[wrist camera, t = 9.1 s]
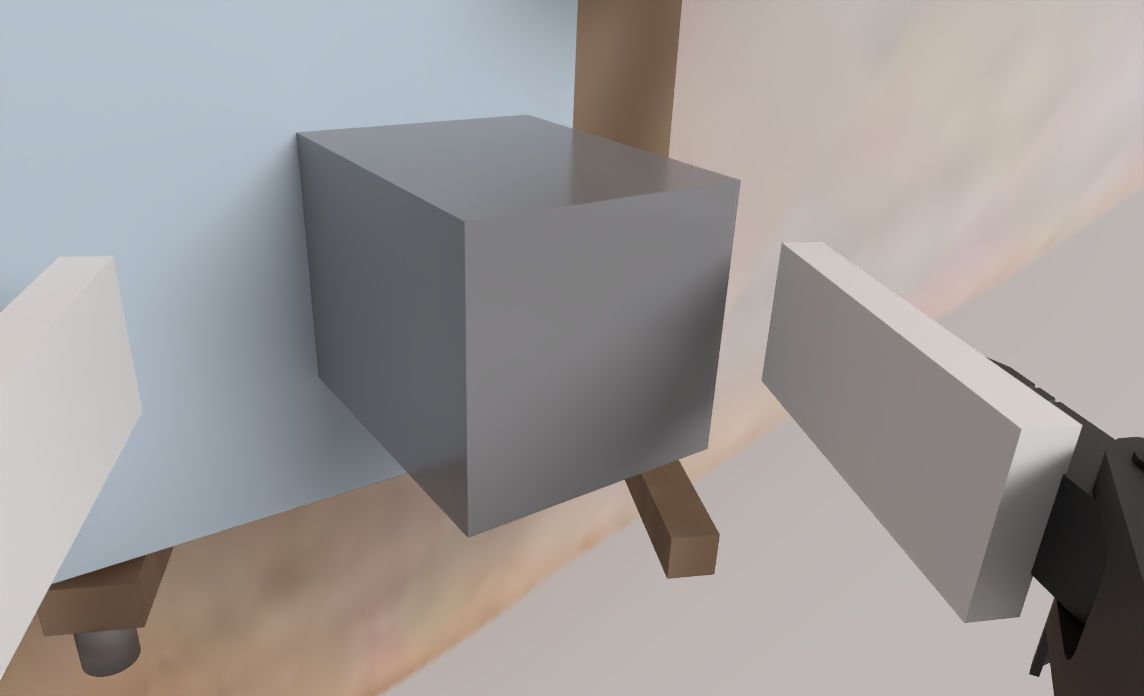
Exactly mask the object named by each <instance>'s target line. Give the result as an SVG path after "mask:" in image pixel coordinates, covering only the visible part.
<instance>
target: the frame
mask: <svg viewBox="0 0 1144 696" xmlns="http://www.w3.org/2000/svg"><path fill="white" fill-rule="evenodd" d="M681 6H682V0H578V10H577V34H576V59H575V84H574V108H573V129H576V130H579V131H583V132H586V133H589V134H592V135H596V136H599V137H602V138H605V139H608V140H612V141H615V142H618V143H621V144H625V145H628V146H631V147H634V148H638V149H641V150H644V151H647V152H651V153H654V154H657V155H660V156H664V157H667V158H668V155H669V144H670V132H671V121H672V109H673V98H674V86H675V75H676V63H677V52H678V40H679V29H680V17H681ZM625 481H626V484H627V486H628V488H629V491H630V493H631V495H632V498H633V500H634V502H635V505H636V507H637V509H638V512H639V514H640V516H641V519H642V521H643V523H644V525H645V528H646V530H647V532H648V535H649V537H650V539H651V542H652V544H653V546H654V549H655V551H656V553H657V556H658V558H659V560H660V563H661V565H662V567H663V570H664V572H665V574H666V577H667V579H669V578H680V577H691V576H701V575H712V574H714V572H715V565H716V557H717V550H718V543H719V535H720V534H719V532H718V531H717V529H716V527H715V525H714V523H713V522H712V520H711V518H710V516H709V514H708V513H707V511H706V509H705V507H704V505H703V503H702V502H701V500H700V498H699V496H698V494H697V493H696V491H695V489H694V487H693V485H692V483H691V482H690V480H689V478H688V476H687V474H686V472H685V471H684V469H683V467H682V465H681V463H680V462H679V460H676V461H673V462H670V463H668V464H665V465H662V466H660V467H657V468H654V469H651V470H649V471H646V472H643V473H641V474H638V475H635V476H633V477H630V478H627V479H625ZM172 549H173V546H172V547H169V548H166V549H163V550H159V551H156V552H153V553H150V554H147V555H143V556H140V557H137V558H134V559H131V560H127V561H124V562H121V563H118V564H114V565H111V566H108V567H105V568H102V569H98V570H95V571H92V572H89V573H86V574H82V575H79V576H76V577H73V578H70V579H66V580H63V581H60V582H57V583H53V584H51V585H50V587H49V589H48V591H47V593H46V595H45V597H44V598H43V600H42V602H41V604H40V606H39V608H38V610H37V611H38V615H39V618H40V622H41V626H42V629H43V633H44V636H53V635H64V634H74V638H75V642H76V646H77V650H78V654H79V658H80V662H81V665H82V669H83V671H84V672H85V673H87V674H88V675H91V676H95V677H104V676H110V675H114V674H117V673H119V672H121V671H123V670H125V669H127V668H128V667H130V666H131V665H132V664H133V663H134V662H135V661H136V660H137V658H138V657H139V655H140V650H141V649H140V644H139V639H138V634H137V630H136V628H139V627H145V624H146V621H147V618H148V616H149V613H150V610H151V607H152V604H153V602H154V599H155V596H156V593H157V591H158V588H159V585H160V582H161V580H162V577H163V574H164V571H165V569H166V566H167V563H168V560H169V558H170V555H171V552H172Z"/></svg>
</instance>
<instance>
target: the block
mask: <svg viewBox="0 0 1144 696" xmlns="http://www.w3.org/2000/svg"><path fill="white" fill-rule="evenodd" d="M296 134H297V145H298V156H299V168H300V179H301V190H302V201H303V212H304V223H305V234H306V245H307V256H308V267H309V278H310V289H311V300H312V311H313V322H314V333H315V344H316V355H317V366H318V377H319V378H320V379H321V380H322V381H323V382H324V383H325V385H326V386H327V387H328V388H329V389H330V390H331V391H332V392H333V393H334V394H335V395H336V396H337V397H338V398H339V400H340V401H341V402H342V403H343V404H344V405H345V406H346V407H347V408H348V409H349V410H350V411H351V412H352V413H353V415H354V416H355V417H356V418H357V419H358V420H359V421H360V422H361V423H362V424H363V425H364V426H365V427H366V429H367V430H368V431H369V432H370V433H371V434H372V435H373V436H374V437H375V438H376V439H377V440H378V441H379V442H380V444H381V445H382V446H383V447H384V448H385V449H386V450H387V451H388V452H389V453H390V454H391V455H392V456H393V457H394V459H395V460H396V461H397V462H398V463H399V464H400V465H401V466H402V467H403V468H404V469H405V470H406V471H407V473H408V474H409V475H410V476H411V477H412V478H413V479H414V480H415V481H416V482H417V483H418V484H419V485H420V486H421V488H422V489H423V490H424V491H425V492H426V493H427V494H428V495H429V496H430V497H431V498H432V499H433V500H434V501H435V503H436V504H437V505H438V506H439V507H440V508H441V509H442V510H443V511H444V512H445V513H446V514H447V515H448V517H449V518H450V519H451V520H452V521H453V522H454V523H455V524H456V525H457V526H458V527H459V528H460V529H461V530H462V532H463V533H464V534H465V535H466V536H467V537H471V536H474V535H476V534H479V533H482V532H484V531H487V530H490V529H493V528H495V527H498V526H501V525H503V524H506V523H509V522H511V521H514V520H517V519H519V518H522V517H525V516H528V515H530V514H533V513H536V512H538V511H541V510H544V509H546V508H549V507H552V506H554V505H557V504H560V503H563V502H565V501H568V500H571V499H573V498H576V497H579V496H581V495H584V494H587V493H590V492H592V491H595V490H598V489H600V488H603V487H606V486H608V485H611V484H614V483H616V482H619V481H622V480H625V479H627V478H630V477H633V476H635V475H638V474H641V473H643V472H646V471H649V470H651V469H654V468H657V467H660V466H662V465H665V464H668V463H670V462H673V461H676V460H678V459H681V458H684V457H687V456H689V455H692V454H695V453H697V452H700V451H703V450H705V449H707V448H708V440H709V432H710V424H711V416H712V408H713V400H714V392H715V384H716V375H717V367H718V359H719V351H720V343H721V335H722V327H723V319H724V311H725V302H726V294H727V286H728V278H729V270H730V262H731V254H732V246H733V238H734V229H735V221H736V213H737V205H738V197H739V189H740V181H741V180H738V179H735V178H731V177H728V176H725V175H722V174H719V173H715V172H712V171H709V170H706V169H702V168H699V167H696V166H693V165H689V164H686V163H683V162H680V161H676V160H673V159H670V158H667V157H664V156H660V155H657V154H654V153H651V152H647V151H644V150H641V149H638V148H634V147H631V146H628V145H625V144H621V143H618V142H615V141H612V140H608V139H605V138H602V137H599V136H596V135H592V134H589V133H586V132H583V131H579V130H576V129H573V128H570V127H566V126H563V125H560V124H557V123H553V122H550V121H547V120H544V119H541V118H537V117H534V116H531V115H515V116H502V117H489V118H476V119H463V120H451V121H438V122H425V123H412V124H399V125H386V126H373V127H360V128H347V129H334V130H321V131H308V132H296Z"/></svg>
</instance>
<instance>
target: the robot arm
mask: <svg viewBox="0 0 1144 696" xmlns="http://www.w3.org/2000/svg"><path fill="white" fill-rule="evenodd" d="M762 382H763V383H764V384H765V385H766V386H767V388H768V389H769V390H770V391H771V392H772V394H773V395H774V396H775V397H776V398H777V400H778V401H779V402H780V403H781V404H782V406H783V407H784V408H785V409H786V410H787V412H788V413H789V414H790V415H791V416H792V418H793V419H794V420H795V421H796V422H797V423H798V425H799V426H800V427H801V428H802V429H803V431H804V432H805V433H806V434H807V435H808V437H809V438H810V439H811V440H812V441H813V443H814V444H815V445H816V446H817V447H818V448H819V450H820V451H821V452H822V453H823V455H824V456H825V457H826V458H827V459H828V460H829V462H830V463H831V464H832V465H833V466H834V468H835V469H836V470H837V471H838V472H839V473H840V475H841V476H842V477H843V478H844V480H845V481H846V482H847V483H848V484H849V486H850V487H851V488H852V489H853V490H854V492H855V493H856V494H857V495H858V496H859V497H860V499H861V500H862V501H863V502H864V504H865V505H866V506H867V507H868V508H869V509H870V511H871V512H872V513H873V514H874V515H875V517H876V518H877V519H878V520H879V521H880V523H881V524H882V525H883V526H884V527H885V528H886V530H887V531H888V532H889V533H890V535H891V536H892V537H893V538H894V539H895V541H896V542H897V543H898V544H899V545H900V547H901V548H902V549H903V550H904V551H905V552H906V554H907V555H908V556H909V557H910V558H911V560H912V561H913V562H914V563H915V564H916V565H917V567H918V568H919V569H920V570H921V572H923V574H924V575H925V576H926V578H927V579H928V580H929V581H930V582H931V583H932V585H933V586H934V587H935V588H936V590H937V591H938V592H939V593H940V594H941V595H942V597H943V598H944V599H945V600H946V601H947V603H948V604H949V605H950V606H951V607H952V609H953V610H954V611H955V612H956V613H957V615H958V616H959V617H960V618H961V619H962V621H963V622H964V623H968V622H977V621H987V620H995V619H1005V618H1014V617H1020V614H1021V611H1022V608H1023V605H1024V602H1025V599H1026V595H1027V592H1028V589H1029V586H1030V583H1031V580H1032V577H1033V576H1034V577H1035V578H1036V579H1037V580H1038V581H1039V582H1040V583H1041V584H1042V585H1043V586H1044V587H1045V588H1046V589H1047V590H1048V591H1049V592H1050V593H1051V594H1052V595H1053V596H1054V597H1055V598H1054V600H1053V603H1052V606H1051V609H1050V612H1049V615H1048V618H1047V621H1046V624H1045V627H1044V629H1043V632H1042V635H1041V638H1040V641H1039V644H1038V647H1037V650H1036V653H1035V656H1034V658H1033V661H1032V665H1031V669H1030V673H1029V674H1031V675H1034V676H1037V677H1039V676H1040V673H1041V670H1042V667H1043V665H1046V664H1048V663H1050V665H1051V673H1052V682H1053V690H1054V696H1144V438H1141V437H1130V438H1118V439H1117V440H1114V439H1113V438H1112V437H1110V436H1109V435H1107V434H1106V433H1105V432H1103V431H1102V430H1100V429H1098V428H1097V427H1096V426H1094V425H1093V424H1092V423H1090V422H1088V421H1087V420H1086V419H1084V418H1083V417H1081V416H1080V415H1079V414H1077V413H1076V412H1074V411H1073V410H1071V409H1070V408H1068V407H1067V406H1066V405H1064V404H1063V403H1061V402H1055V398H1054V397H1053V396H1051V395H1050V394H1048V393H1047V392H1045V391H1044V390H1042V389H1041V388H1035V384H1034V383H1032V382H1031V381H1029V380H1028V379H1026V378H1025V377H1023V376H1022V375H1020V374H1019V373H1018V372H1016V371H1015V370H1013V369H1012V368H1010V367H1008V366H1006V365H1004V364H1001V363H999V362H996V361H994V360H992V359H990V358H987V357H985V356H983V355H982V354H980V353H979V352H978V351H976V350H975V349H973V348H972V347H971V346H969V345H968V344H966V343H965V342H963V341H962V340H961V339H959V338H958V337H956V336H955V335H953V334H952V333H951V332H949V331H948V330H946V329H945V328H944V327H942V326H941V325H939V324H938V323H936V322H935V321H934V320H932V319H931V318H929V317H928V316H926V315H925V314H924V313H922V312H921V311H919V310H918V309H917V308H915V307H914V306H912V305H911V304H909V303H908V302H907V301H905V300H904V299H902V298H901V297H899V296H898V295H897V294H895V293H894V292H892V291H891V290H890V289H888V288H887V287H885V286H884V285H882V284H881V283H880V282H878V281H877V280H875V279H874V278H872V277H871V276H870V275H868V274H867V273H865V272H864V271H862V270H861V269H860V268H858V267H857V266H855V265H854V264H853V263H851V262H850V261H848V260H847V259H845V258H844V257H843V256H841V255H840V254H838V253H837V252H835V251H834V250H833V249H831V248H830V247H828V246H827V245H826V244H824V243H823V242H796V243H782V247H781V253H780V260H779V267H778V274H777V280H776V287H775V294H774V301H773V307H772V314H771V321H770V328H769V334H768V341H767V348H766V355H765V362H764V368H763V375H762ZM142 412H143V411H142V406H141V401H140V395H139V390H138V385H137V380H136V374H135V369H134V364H133V358H132V353H131V348H130V342H129V337H128V332H127V327H126V321H125V316H124V311H123V305H122V300H121V295H120V289H119V284H118V279H117V274H116V268H115V263H114V258H113V256H71V257H58V258H57V259H56V260H55V261H54V262H53V263H52V264H51V265H50V266H49V267H48V268H47V269H46V270H45V271H44V272H43V273H42V274H41V275H39V276H38V277H37V278H36V279H35V280H34V281H33V282H32V283H31V284H30V285H29V286H28V287H27V288H26V289H25V290H24V291H23V292H22V293H20V294H19V295H18V296H17V297H16V298H15V299H14V300H13V301H12V302H11V303H10V304H9V305H8V306H7V307H6V308H5V309H4V310H3V311H2V312H0V680H1V678H2V676H3V674H4V672H5V670H6V668H7V666H8V664H9V663H10V661H11V659H12V657H13V655H14V653H15V651H16V649H17V647H18V646H19V644H20V642H21V640H22V638H23V636H24V634H25V632H26V631H27V629H28V627H29V625H30V623H31V621H32V619H33V617H34V615H35V614H36V612H37V610H38V608H39V606H40V604H41V602H42V600H43V598H44V597H45V595H46V593H47V591H48V589H49V587H50V585H51V583H52V582H53V580H54V578H55V576H56V574H57V572H58V570H59V568H60V566H61V565H62V563H63V561H64V559H65V557H66V555H67V553H68V551H69V549H70V548H71V546H72V544H73V542H74V540H75V538H76V536H77V534H78V533H79V531H80V529H81V527H82V525H83V523H84V521H85V519H86V517H87V516H88V514H89V512H90V510H91V508H92V506H93V504H94V502H95V500H96V499H97V497H98V495H99V493H100V491H101V489H102V487H103V485H104V484H105V482H106V480H107V478H108V476H109V474H110V472H111V470H112V468H113V467H114V465H115V463H116V461H117V459H118V457H119V455H120V453H121V451H122V450H123V448H124V446H125V444H126V442H127V440H128V438H129V436H130V435H131V433H132V431H133V429H134V427H135V425H136V423H137V421H138V419H139V418H140V416H141V414H142Z"/></svg>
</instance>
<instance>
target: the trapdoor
mask: <svg viewBox="0 0 1144 696" xmlns="http://www.w3.org/2000/svg"><path fill="white" fill-rule="evenodd" d="M577 10H578V0H0V312H2V311H3V310H4V309H5V308H6V307H7V306H8V305H9V304H10V303H11V302H12V301H13V300H14V299H15V298H16V297H17V296H18V295H19V294H20V293H22V292H23V291H24V290H25V289H26V288H27V287H28V286H29V285H30V284H31V283H32V282H33V281H34V280H35V279H36V278H37V277H38V276H39V275H41V274H42V273H43V272H44V271H45V270H46V269H47V268H48V267H49V266H50V265H51V264H52V263H53V262H54V261H55V260H56V259H57V258H58V257H71V256H113V258H114V263H115V268H116V274H117V279H118V284H119V289H120V295H121V300H122V305H123V311H124V316H125V321H126V327H127V332H128V337H129V342H130V348H131V353H132V358H133V364H134V369H135V374H136V380H137V385H138V390H139V395H140V401H141V406H142V411H143V412H142V414H141V416H140V418H139V419H138V421H137V423H136V425H135V427H134V429H133V431H132V433H131V435H130V436H129V438H128V440H127V442H126V444H125V446H124V448H123V450H122V451H121V453H120V455H119V457H118V459H117V461H116V463H115V465H114V467H113V468H112V470H111V472H110V474H109V476H108V478H107V480H106V482H105V484H104V485H103V487H102V489H101V491H100V493H99V495H98V497H97V499H96V500H95V502H94V504H93V506H92V508H91V510H90V512H89V514H88V516H87V517H86V519H85V521H84V523H83V525H82V527H81V529H80V531H79V533H78V534H77V536H76V538H75V540H74V542H73V544H72V546H71V548H70V549H69V551H68V553H67V555H66V557H65V559H64V561H63V563H62V565H61V566H60V568H59V570H58V572H57V574H56V576H55V578H54V580H53V582H52V583H51V584H53V583H57V582H60V581H63V580H66V579H70V578H73V577H76V576H79V575H82V574H86V573H89V572H92V571H95V570H98V569H102V568H105V567H108V566H111V565H114V564H118V563H121V562H124V561H127V560H131V559H134V558H137V557H140V556H143V555H147V554H150V553H153V552H156V551H159V550H163V549H166V548H169V547H172V546H175V545H179V544H182V543H185V542H188V541H192V540H195V539H198V538H201V537H204V536H208V535H211V534H214V533H217V532H220V531H224V530H227V529H230V528H233V527H236V526H240V525H243V524H246V523H249V522H253V521H256V520H259V519H262V518H265V517H269V516H272V515H275V514H278V513H281V512H285V511H288V510H291V509H294V508H297V507H301V506H304V505H307V504H310V503H314V502H317V501H320V500H323V499H326V498H330V497H333V496H336V495H339V494H342V493H346V492H349V491H352V490H355V489H358V488H362V487H365V486H368V485H371V484H374V483H378V482H381V481H384V480H387V479H391V478H394V477H397V476H400V475H403V474H407V471H406V470H405V469H404V468H403V467H402V466H401V465H400V464H399V463H398V462H397V461H396V460H395V459H394V457H393V456H392V455H391V454H390V453H389V452H388V451H387V450H386V449H385V448H384V447H383V446H382V445H381V444H380V442H379V441H378V440H377V439H376V438H375V437H374V436H373V435H372V434H371V433H370V432H369V431H368V430H367V429H366V427H365V426H364V425H363V424H362V423H361V422H360V421H359V420H358V419H357V418H356V417H355V416H354V415H353V413H352V412H351V411H350V410H349V409H348V408H347V407H346V406H345V405H344V404H343V403H342V402H341V401H340V400H339V398H338V397H337V396H336V395H335V394H334V393H333V392H332V391H331V390H330V389H329V388H328V387H327V386H326V385H325V383H324V382H323V381H322V380H321V379H320V378H319V377H318V366H317V355H316V344H315V333H314V322H313V311H312V300H311V289H310V278H309V267H308V256H307V245H306V234H305V223H304V212H303V201H302V190H301V179H300V168H299V156H298V145H297V134H296V132H308V131H321V130H334V129H347V128H360V127H373V126H386V125H399V124H412V123H425V122H438V121H451V120H463V119H476V118H489V117H502V116H515V115H531V116H534V117H537V118H541V119H544V120H547V121H550V122H553V123H557V124H560V125H563V126H566V127H570V128H573V108H574V84H575V59H576V34H577Z"/></svg>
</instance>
